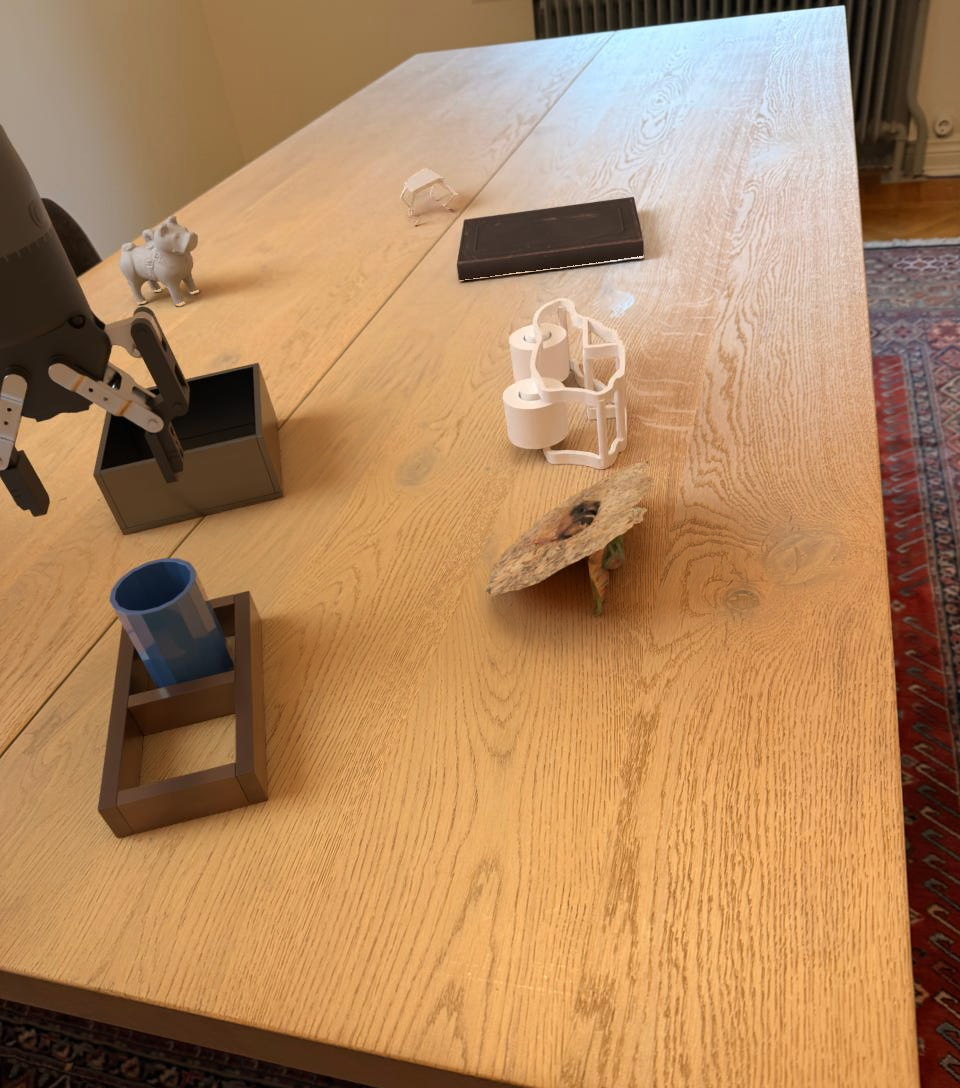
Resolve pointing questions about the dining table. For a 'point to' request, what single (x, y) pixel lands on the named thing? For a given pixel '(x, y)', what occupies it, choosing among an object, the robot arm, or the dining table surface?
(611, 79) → the dining table surface
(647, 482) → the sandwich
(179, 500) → the open box
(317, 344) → the dining table surface
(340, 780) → the dining table surface
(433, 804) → the dining table surface
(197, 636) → the cup
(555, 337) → the toilet paper holder
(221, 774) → the rack
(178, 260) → the dog figurine
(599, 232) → the hardcover book
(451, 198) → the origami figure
